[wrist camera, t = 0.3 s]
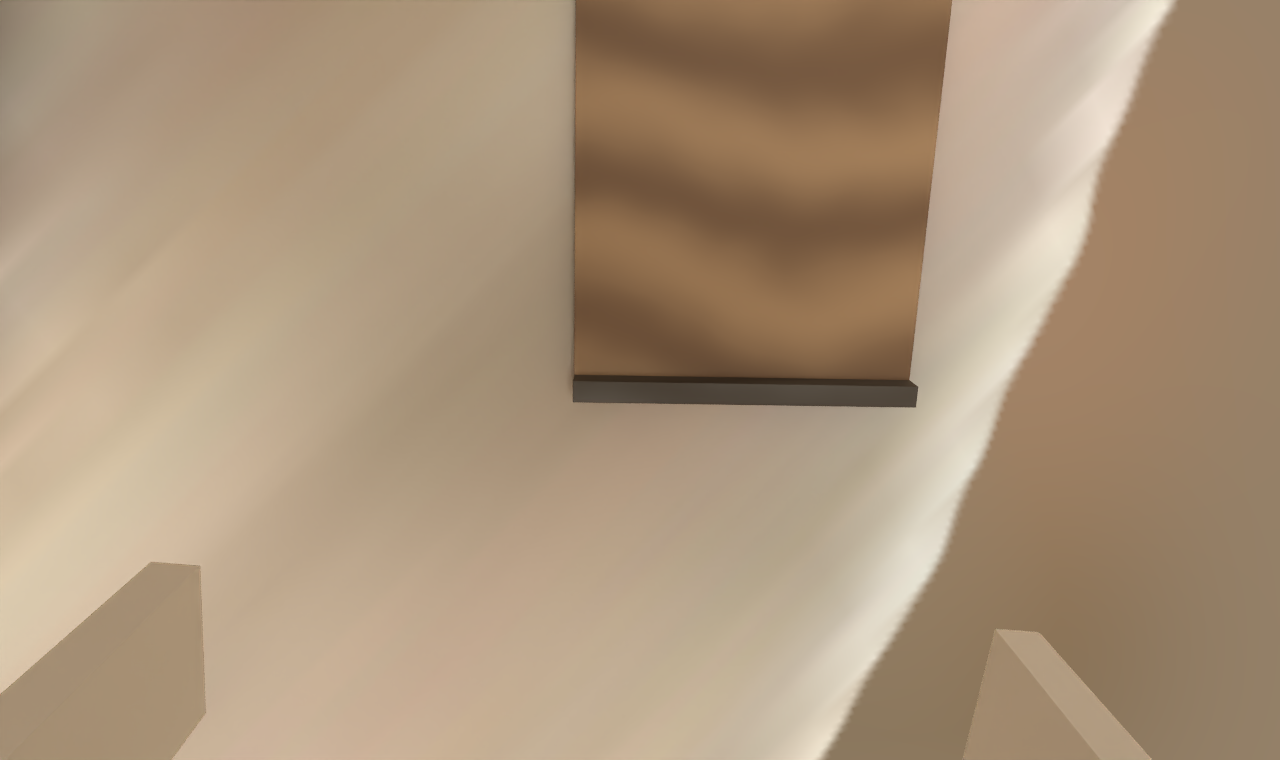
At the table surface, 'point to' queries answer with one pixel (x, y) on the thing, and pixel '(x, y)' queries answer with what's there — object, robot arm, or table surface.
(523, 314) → the table surface
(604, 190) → the board
